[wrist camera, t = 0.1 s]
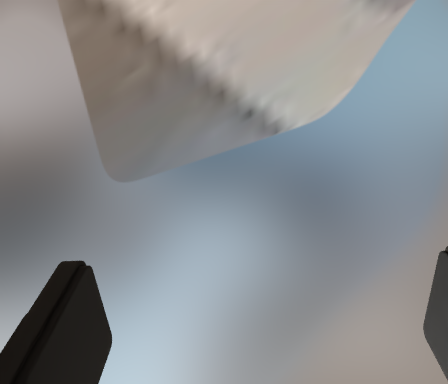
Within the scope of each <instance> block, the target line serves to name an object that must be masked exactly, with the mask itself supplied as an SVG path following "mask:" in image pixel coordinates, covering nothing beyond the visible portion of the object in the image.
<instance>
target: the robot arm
mask: <svg viewBox="0 0 448 384" xmlns="http://www.w3.org/2000/svg"><path fill="white" fill-rule="evenodd" d="M423 329H424V334H425V338H426V340H427V342H428V344H429V346H430V348H431V350H432V351H433V353H434V355H435V357H436V359H437V361H438V363H439V365H440V366H441V369H442V371H443V372H444V374H445V376H446V378H447V380H448V246H447V247H446V250H445V251H441V252H440V253H439V256H438V261H437V265H436V270H435V275H434V279H433V284H432V288H431V293H430V297H429V302H428V306H427V311H426V316H425V320H424V326H423ZM111 345H112V334H111V330H110V327H109V324H108V320H107V317H106V314H105V310H104V307H103V303H102V300H101V297H100V293H99V290H98V287H97V283H96V280H95V276H94V273H93V269H92V267H91V266H86V264H85V262H84V261H63V262H61V263H60V264H59V265H58V266H57V268H56V270H55V271H54V273H53V274H52V276H51V278H50V279H49V281H48V282H47V284H46V285H45V287H44V288H43V290H42V291H41V293H40V295H39V296H38V298H37V300H36V301H35V302H34V304H33V306H32V307H31V309H30V310H29V312H28V313H27V314H26V315H25V316H24V318H23V319H22V321H21V322H20V324H19V325H18V327H17V328H16V330H15V332H14V333H13V335H12V336H11V338H10V339H9V341H8V342H7V344H6V346H5V347H4V349H3V350H2V352H1V353H0V384H98V383H99V380H100V377H101V375H102V372H103V369H104V366H105V363H106V360H107V357H108V355H109V352H110V348H111Z"/></svg>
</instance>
